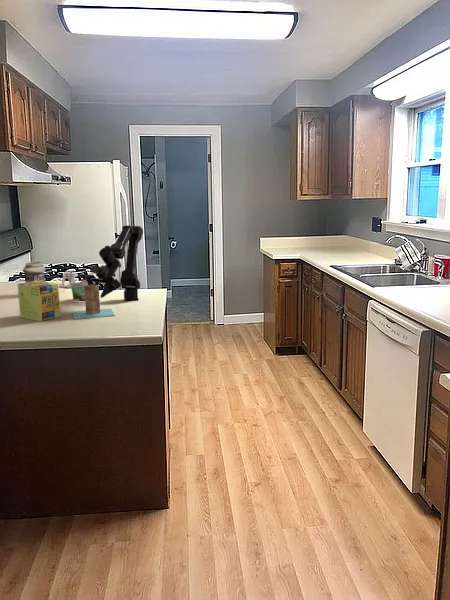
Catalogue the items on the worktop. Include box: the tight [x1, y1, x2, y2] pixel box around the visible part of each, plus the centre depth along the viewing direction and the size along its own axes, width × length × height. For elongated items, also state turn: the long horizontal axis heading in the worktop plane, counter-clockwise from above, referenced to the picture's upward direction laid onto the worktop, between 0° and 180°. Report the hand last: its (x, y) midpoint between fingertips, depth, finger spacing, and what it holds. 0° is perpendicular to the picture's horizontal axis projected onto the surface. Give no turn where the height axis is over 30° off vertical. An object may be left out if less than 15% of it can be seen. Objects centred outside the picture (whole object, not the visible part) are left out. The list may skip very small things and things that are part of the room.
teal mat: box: [71, 308, 116, 320], centre depth 235 cm, size 18×14×1 cm
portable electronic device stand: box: [58, 271, 78, 289], centre depth 302 cm, size 9×8×8 cm
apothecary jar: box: [22, 261, 47, 283], centre depth 278 cm, size 12×12×18 cm
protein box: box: [17, 281, 61, 322], centre depth 228 cm, size 10×15×16 cm
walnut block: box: [84, 284, 101, 315], centre depth 233 cm, size 4×4×13 cm
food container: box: [70, 279, 88, 302], centre depth 263 cm, size 12×6×10 cm, turn 168°
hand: (93, 296), depth 234 cm, fingers open, 9 cm apart
